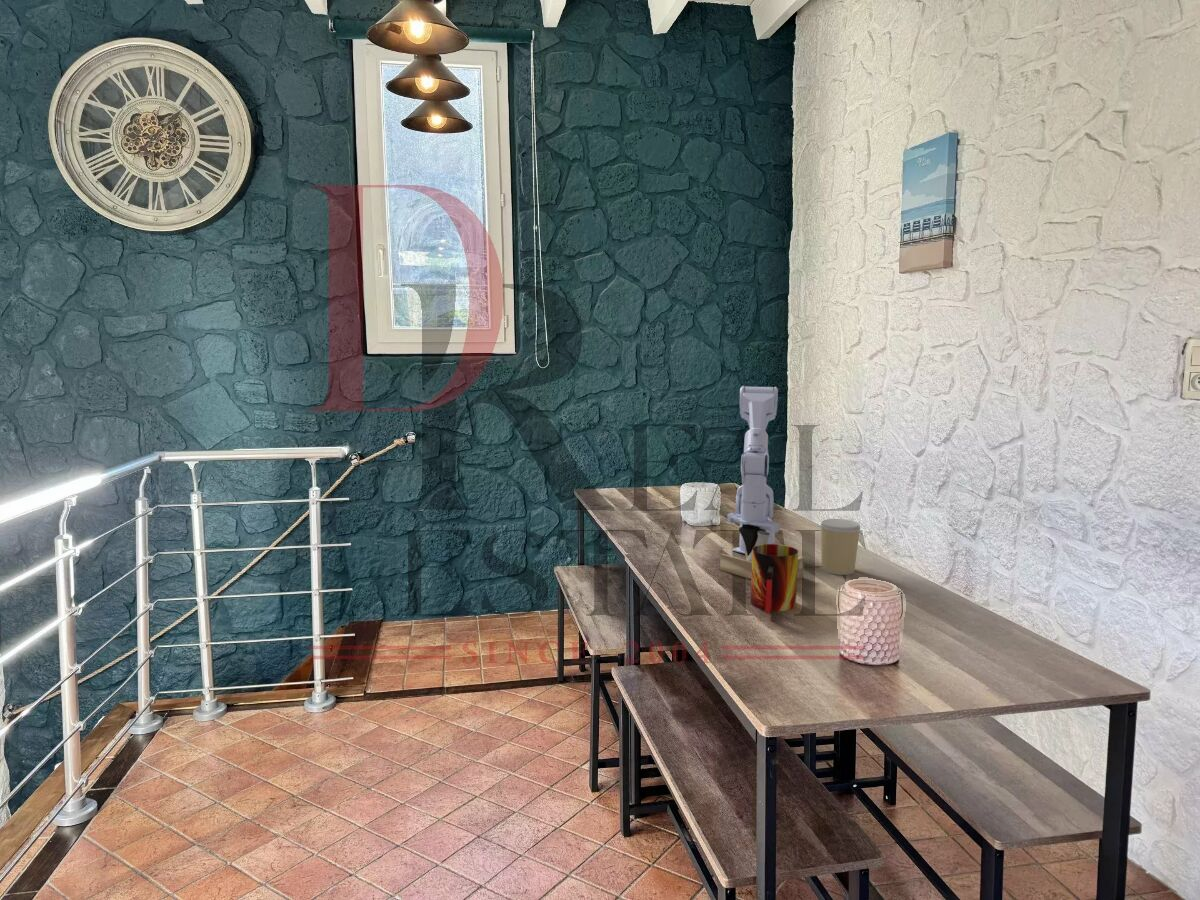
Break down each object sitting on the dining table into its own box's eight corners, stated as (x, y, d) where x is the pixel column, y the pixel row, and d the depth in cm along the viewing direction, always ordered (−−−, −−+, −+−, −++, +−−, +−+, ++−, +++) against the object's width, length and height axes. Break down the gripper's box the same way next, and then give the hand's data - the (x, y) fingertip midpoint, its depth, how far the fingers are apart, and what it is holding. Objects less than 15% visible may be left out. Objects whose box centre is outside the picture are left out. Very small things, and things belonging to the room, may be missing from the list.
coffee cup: (860, 567, 201) (862, 520, 199) (854, 578, 193) (857, 529, 191) (821, 562, 205) (824, 516, 203) (815, 572, 197) (817, 525, 195)
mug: (765, 619, 165) (768, 562, 163) (744, 597, 179) (746, 544, 177) (810, 617, 167) (813, 561, 165) (785, 595, 180) (788, 543, 178)
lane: (747, 561, 206) (747, 542, 205) (803, 577, 193) (804, 557, 192) (719, 569, 199) (720, 550, 198) (776, 586, 186) (777, 565, 185)
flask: (765, 580, 191) (773, 541, 188) (737, 570, 194) (744, 532, 192) (775, 571, 197) (783, 533, 195) (747, 562, 200) (754, 525, 198)
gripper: (719, 498, 198) (718, 551, 200) (767, 508, 187) (765, 565, 189) (738, 494, 203) (736, 546, 205) (785, 504, 192) (783, 559, 194)
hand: (751, 555), depth 197 cm, fingers closed
